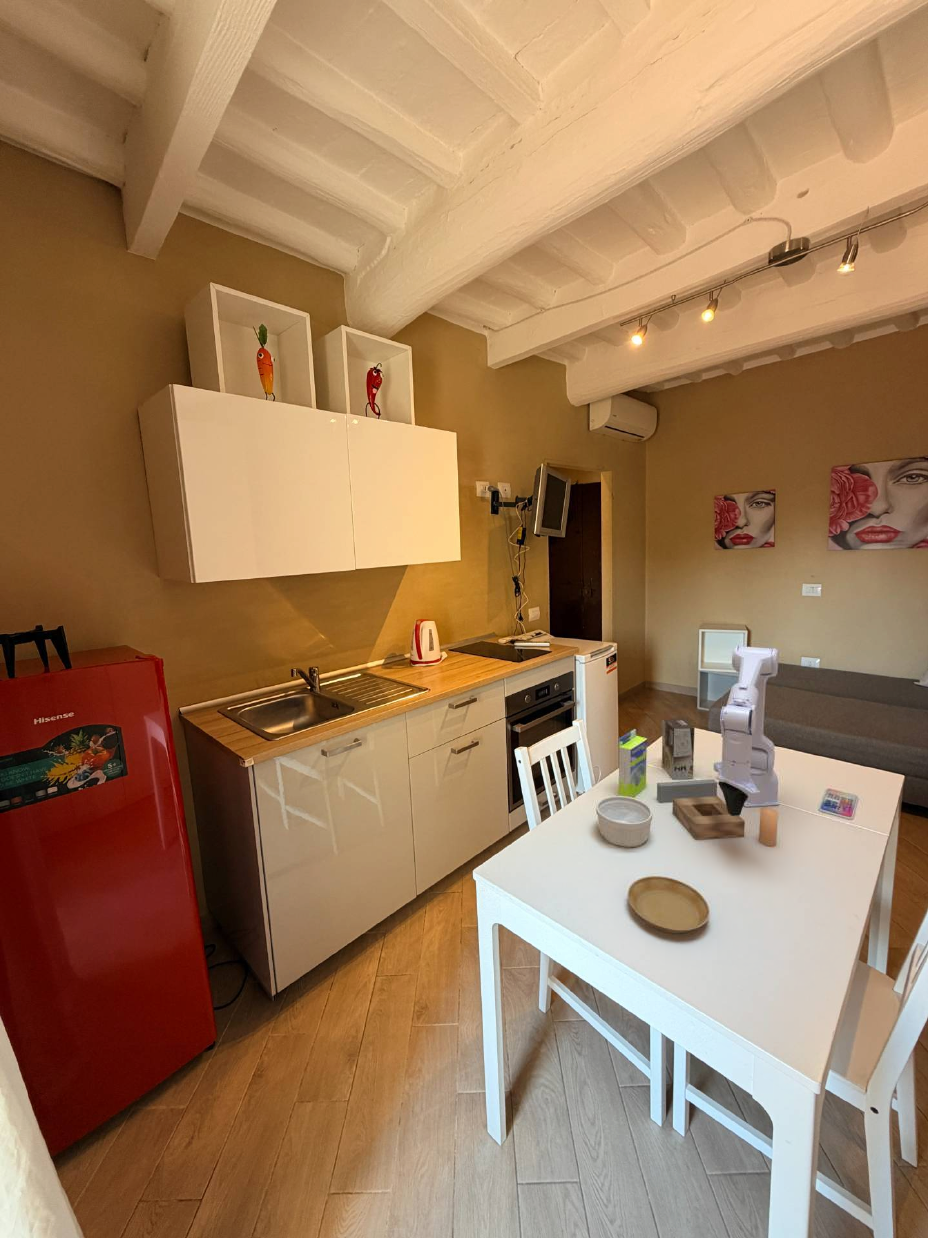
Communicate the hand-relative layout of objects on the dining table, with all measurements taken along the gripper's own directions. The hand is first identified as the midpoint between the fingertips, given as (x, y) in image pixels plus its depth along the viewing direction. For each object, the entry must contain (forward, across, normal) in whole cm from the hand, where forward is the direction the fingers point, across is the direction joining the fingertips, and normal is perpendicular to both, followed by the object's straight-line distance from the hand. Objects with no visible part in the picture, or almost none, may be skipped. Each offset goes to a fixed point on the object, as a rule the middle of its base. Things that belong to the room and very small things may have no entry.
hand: (734, 814), depth 112 cm
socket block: (+9, -11, 0) cm, 15 cm away
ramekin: (+10, -10, -22) cm, 26 cm away
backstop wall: (+9, -24, +1) cm, 25 cm away
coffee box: (+10, -40, +6) cm, 41 cm away
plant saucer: (+10, +16, -23) cm, 30 cm away
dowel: (+9, -2, +10) cm, 14 cm away
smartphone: (+10, -16, +39) cm, 44 cm away
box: (+10, -30, -12) cm, 33 cm away
